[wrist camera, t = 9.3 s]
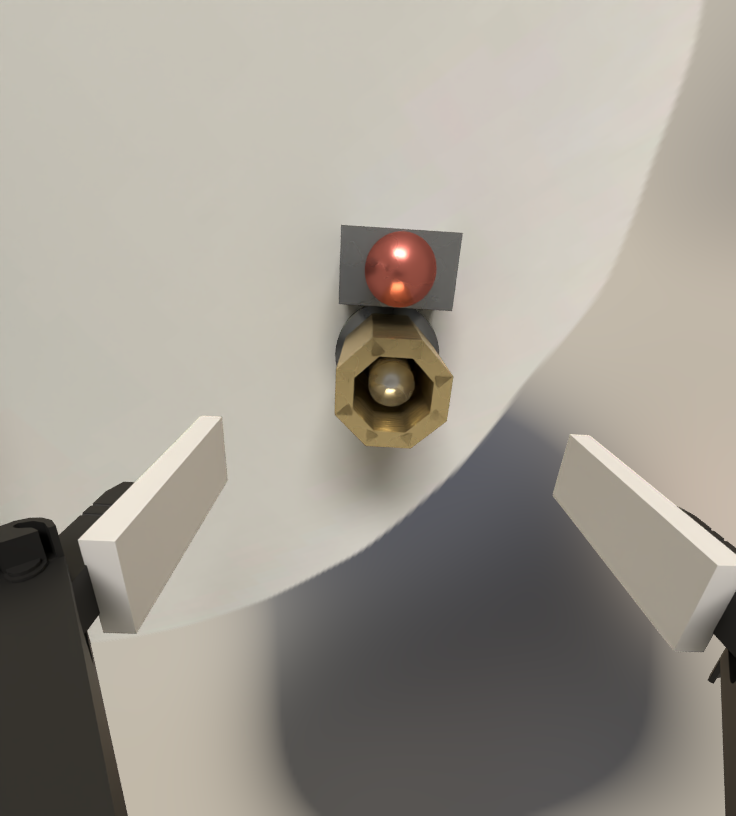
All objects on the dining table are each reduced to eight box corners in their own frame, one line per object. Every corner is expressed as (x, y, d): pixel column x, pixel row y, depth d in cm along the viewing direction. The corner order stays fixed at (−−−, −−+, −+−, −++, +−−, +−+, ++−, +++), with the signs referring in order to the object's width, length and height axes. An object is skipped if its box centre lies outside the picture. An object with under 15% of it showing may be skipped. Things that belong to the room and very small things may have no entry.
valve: (335, 396, 32) (324, 440, 25) (340, 230, 28) (328, 221, 20) (430, 402, 33) (448, 447, 25) (451, 237, 28) (481, 231, 20)
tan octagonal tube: (343, 392, 31) (333, 444, 23) (346, 311, 29) (336, 335, 20) (423, 397, 31) (442, 450, 23) (433, 316, 29) (458, 342, 20)
